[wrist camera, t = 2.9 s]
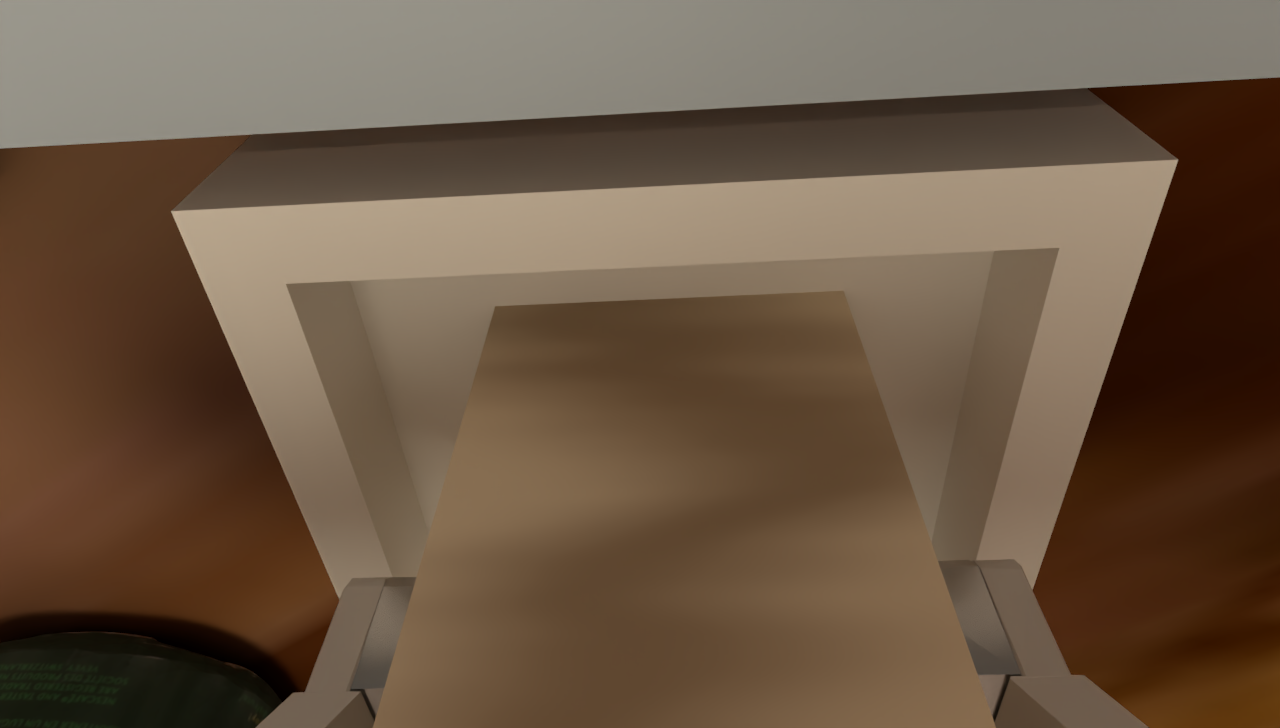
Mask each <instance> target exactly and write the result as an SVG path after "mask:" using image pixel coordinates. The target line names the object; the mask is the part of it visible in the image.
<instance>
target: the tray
mask: <svg viewBox="0 0 1280 728" xmlns="http://www.w3.org/2000/svg"><path fill="white" fill-rule="evenodd" d="M1177 162H1178V159H1177V158H1176V157H1174V156H1173V155H1172V154H1170V153H1169V152H1168V151H1167V150H1165V149H1164V148H1163V147H1161V146H1160V145H1159V144H1158V143H1156V142H1155V141H1154V140H1152V139H1151V138H1150V137H1149V136H1147V135H1146V134H1145V133H1143V132H1142V131H1141V130H1140V129H1138V128H1137V127H1136V126H1134V125H1133V124H1132V123H1131V122H1129V121H1128V120H1127V119H1125V118H1124V117H1123V116H1122V115H1120V114H1119V113H1118V112H1116V111H1115V110H1114V109H1113V108H1111V107H1110V106H1109V105H1107V104H1106V103H1105V102H1104V101H1102V100H1101V99H1100V98H1098V97H1097V96H1096V95H1095V94H1093V93H1092V92H1091V91H1089V90H1088V89H1087V88H1077V89H1059V90H1041V91H1023V92H1005V93H987V94H970V95H952V96H934V97H916V98H898V99H880V100H862V101H844V102H826V103H808V104H790V105H772V106H754V107H736V108H718V109H700V110H682V111H664V112H646V113H629V114H611V115H593V116H575V117H557V118H539V119H521V120H503V121H485V122H467V123H449V124H431V125H413V126H395V127H377V128H359V129H341V130H323V131H305V132H288V133H270V134H252V135H251V136H250V137H249V138H248V139H247V140H246V141H245V142H244V143H243V144H242V145H241V146H240V147H238V148H237V149H236V150H235V151H234V152H233V153H232V154H231V155H230V156H229V157H228V158H227V159H226V160H225V161H224V162H223V163H222V164H220V165H219V166H218V167H217V168H216V169H215V170H214V171H213V172H212V173H211V174H210V175H209V176H208V177H207V178H206V179H205V180H204V181H202V182H201V183H200V184H199V185H198V186H197V187H196V188H195V189H194V190H193V191H192V192H191V193H190V194H189V195H188V196H187V197H186V198H184V199H183V200H182V201H181V202H180V203H179V204H178V205H177V206H176V207H175V208H174V209H173V210H172V211H171V213H172V215H173V217H174V220H175V222H176V224H177V226H178V229H179V231H180V233H181V236H182V238H183V240H184V243H185V245H186V247H187V250H188V252H189V254H190V256H191V259H192V261H193V263H194V266H195V268H196V270H197V273H198V275H199V277H200V279H201V282H202V284H203V286H204V289H205V291H206V293H207V296H208V298H209V300H210V303H211V305H212V307H213V309H214V312H215V314H216V316H217V319H218V321H219V323H220V326H221V328H222V330H223V333H224V335H225V337H226V339H227V342H228V344H229V346H230V349H231V351H232V353H233V356H234V358H235V360H236V362H237V365H238V367H239V369H240V372H241V374H242V376H243V379H244V381H245V383H246V386H247V388H248V390H249V392H250V395H251V397H252V399H253V402H254V404H255V406H256V409H257V411H258V413H259V416H260V418H261V420H262V422H263V425H264V427H265V429H266V432H267V434H268V436H269V439H270V441H271V443H272V446H273V448H274V450H275V452H276V455H277V457H278V459H279V462H280V464H281V466H282V469H283V471H284V473H285V475H286V478H287V480H288V482H289V485H290V487H291V489H292V492H293V494H294V496H295V499H296V501H297V503H298V505H299V508H300V510H301V512H302V515H303V517H304V519H305V522H306V524H307V526H308V529H309V531H310V533H311V535H312V538H313V540H314V542H315V545H316V547H317V549H318V552H319V554H320V556H321V558H322V561H323V563H324V565H325V568H326V570H327V572H328V575H329V577H330V579H331V582H332V584H333V586H334V588H335V591H336V593H337V595H338V598H339V600H340V597H341V594H342V592H343V589H344V588H345V587H346V586H347V584H348V583H349V582H350V581H351V579H352V578H374V577H417V574H418V570H419V567H420V563H421V560H422V556H423V553H424V550H425V546H426V543H427V539H428V536H429V532H430V529H431V525H432V522H433V519H434V515H435V512H436V508H437V505H438V501H439V498H440V495H441V491H442V488H443V484H444V481H445V477H446V474H447V470H448V467H449V464H450V460H451V457H452V453H453V450H454V446H455V443H456V439H457V436H458V433H459V429H460V426H461V422H462V419H463V415H464V412H465V408H466V405H467V402H468V398H469V395H470V391H471V388H472V384H473V381H474V377H475V374H476V371H477V367H478V364H479V360H480V357H481V353H482V350H483V346H484V343H485V340H486V336H487V333H488V329H489V326H490V322H491V319H492V316H493V312H494V309H495V306H514V305H536V304H558V303H581V302H603V301H626V300H648V299H670V298H693V297H715V296H738V295H760V294H782V293H805V292H827V291H844V294H845V297H846V299H847V302H848V305H849V308H850V311H851V314H852V317H853V319H854V322H855V325H856V328H857V331H858V334H859V337H860V339H861V342H862V345H863V348H864V351H865V354H866V357H867V360H868V362H869V365H870V368H871V371H872V374H873V377H874V380H875V382H876V385H877V388H878V391H879V394H880V397H881V400H882V402H883V405H884V408H885V411H886V414H887V417H888V420H889V422H890V425H891V428H892V431H893V434H894V437H895V440H896V443H897V445H898V448H899V451H900V454H901V457H902V460H903V463H904V465H905V468H906V471H907V474H908V477H909V480H910V483H911V485H912V488H913V491H914V494H915V497H916V500H917V503H918V505H919V508H920V511H921V514H922V517H923V520H924V523H925V526H926V528H927V531H928V534H929V537H930V540H931V543H932V546H933V548H934V551H935V554H936V557H937V560H938V561H949V560H970V561H973V560H1002V559H1014V560H1015V561H1016V562H1018V563H1019V564H1020V565H1021V567H1022V569H1023V571H1024V573H1025V575H1026V578H1027V580H1028V582H1029V584H1030V586H1031V588H1032V590H1033V587H1034V584H1035V581H1036V578H1037V576H1038V573H1039V570H1040V567H1041V564H1042V561H1043V558H1044V555H1045V552H1046V549H1047V546H1048V543H1049V540H1050V537H1051V534H1052V531H1053V528H1054V525H1055V522H1056V519H1057V516H1058V513H1059V511H1060V508H1061V505H1062V502H1063V499H1064V496H1065V493H1066V490H1067V487H1068V484H1069V481H1070V478H1071V475H1072V472H1073V469H1074V466H1075V463H1076V460H1077V457H1078V454H1079V451H1080V449H1081V446H1082V443H1083V440H1084V437H1085V434H1086V431H1087V428H1088V425H1089V422H1090V419H1091V416H1092V413H1093V410H1094V407H1095V404H1096V401H1097V398H1098V395H1099V392H1100V389H1101V386H1102V384H1103V381H1104V378H1105V375H1106V372H1107V369H1108V366H1109V363H1110V360H1111V357H1112V354H1113V351H1114V348H1115V345H1116V342H1117V339H1118V336H1119V333H1120V330H1121V327H1122V324H1123V322H1124V319H1125V316H1126V313H1127V310H1128V307H1129V304H1130V301H1131V298H1132V295H1133V292H1134V289H1135V286H1136V283H1137V280H1138V277H1139V274H1140V271H1141V268H1142V265H1143V262H1144V259H1145V257H1146V254H1147V251H1148V248H1149V245H1150V242H1151V239H1152V236H1153V233H1154V230H1155V227H1156V224H1157V221H1158V218H1159V215H1160V212H1161V209H1162V206H1163V203H1164V200H1165V197H1166V195H1167V192H1168V189H1169V186H1170V183H1171V180H1172V177H1173V174H1174V171H1175V168H1176V165H1177Z"/></svg>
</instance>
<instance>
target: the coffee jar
mask: <svg viewBox="0 0 1280 728" xmlns="http://www.w3.org/2000/svg"><path fill="white" fill-rule="evenodd" d="M281 703H282V701H281V700H280V698H279V697H278V696H277V694H276V693H275V692H274V691H273V689H272V688H271V687H270V686H269V685H268V684H267V683H266V682H265V681H264V680H263V679H262V678H260V677H259V676H258V675H257V674H255V673H253V672H252V671H250V670H248V669H247V668H244V667H242V666H239V665H236V664H232V663H228V662H224V661H220V660H217V659H214V658H211V657H208V656H205V655H201V654H198V653H194V652H191V651H188V650H186V649H183V648H179V647H174V646H171V645H167V644H164V643H160V642H158V641H157V640H156V639H154V638H152V637H147V636H141V635H136V634H125V633H113V632H68V633H53V634H44V635H39V636H35V637H31V638H26V639H20V640H13V641H7V642H2V643H0V728H255V727H257V726H258V725H259V724H260V723H261V722H262V721H263V720H264V719H265V718H266V717H267V716H268V715H269V714H271V713H272V712H273V711H274V710H275V709H276V708H277V707H278V706H279V705H280V704H281Z"/></svg>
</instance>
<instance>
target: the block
mask: <svg viewBox="0 0 1280 728" xmlns="http://www.w3.org/2000/svg"><path fill="white" fill-rule="evenodd" d="M373 728H996V726H995V723H994V720H993V717H992V714H991V712H990V709H989V706H988V703H987V700H986V697H985V694H984V692H983V689H982V686H981V683H980V680H979V677H978V674H977V672H976V669H975V666H974V663H973V660H972V657H971V654H970V651H969V649H968V646H967V643H966V640H965V637H964V634H963V631H962V629H961V626H960V623H959V620H958V617H957V614H956V611H955V609H954V606H953V603H952V600H951V597H950V594H949V591H948V589H947V586H946V583H945V580H944V577H943V574H942V571H941V568H940V566H939V563H938V560H937V557H936V554H935V551H934V548H933V546H932V543H931V540H930V537H929V534H928V531H927V528H926V526H925V523H924V520H923V517H922V514H921V511H920V508H919V505H918V503H917V500H916V497H915V494H914V491H913V488H912V485H911V483H910V480H909V477H908V474H907V471H906V468H905V465H904V463H903V460H902V457H901V454H900V451H899V448H898V445H897V443H896V440H895V437H894V434H893V431H892V428H891V425H890V422H889V420H888V417H887V414H886V411H885V408H884V405H883V402H882V400H881V397H880V394H879V391H878V388H877V385H876V382H875V380H874V377H873V374H872V371H871V368H870V365H869V362H868V360H867V357H866V354H865V351H864V348H863V345H862V342H861V339H860V337H859V334H858V331H857V328H856V325H855V322H854V319H853V317H852V314H851V311H850V308H849V305H848V302H847V299H846V297H845V294H844V291H827V292H805V293H782V294H760V295H738V296H715V297H693V298H670V299H648V300H626V301H603V302H581V303H558V304H536V305H514V306H495V309H494V312H493V316H492V319H491V322H490V326H489V329H488V333H487V336H486V340H485V343H484V346H483V350H482V353H481V357H480V360H479V364H478V367H477V371H476V374H475V377H474V381H473V384H472V388H471V391H470V395H469V398H468V402H467V405H466V408H465V412H464V415H463V419H462V422H461V426H460V429H459V433H458V436H457V439H456V443H455V446H454V450H453V453H452V457H451V460H450V464H449V467H448V470H447V474H446V477H445V481H444V484H443V488H442V491H441V495H440V498H439V501H438V505H437V508H436V512H435V515H434V519H433V522H432V525H431V529H430V532H429V536H428V539H427V543H426V546H425V550H424V553H423V556H422V560H421V563H420V567H419V570H418V574H417V577H416V581H415V584H414V587H413V591H412V594H411V598H410V601H409V605H408V608H407V612H406V615H405V618H404V622H403V625H402V629H401V632H400V636H399V639H398V643H397V646H396V649H395V653H394V656H393V660H392V663H391V667H390V670H389V673H388V677H387V680H386V684H385V687H384V691H383V694H382V698H381V701H380V704H379V708H378V711H377V715H376V718H375V722H374V725H373Z"/></svg>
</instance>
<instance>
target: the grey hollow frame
mask: <svg viewBox="0 0 1280 728" xmlns="http://www.w3.org/2000/svg"><path fill="white" fill-rule="evenodd" d="M1275 77H1280V0H0V148H18V147H36V146H54V145H72V144H90V143H108V142H126V141H144V140H162V139H180V138H198V137H216V136H234V135H252V134H270V133H288V132H305V131H323V130H341V129H359V128H377V127H395V126H413V125H431V124H449V123H467V122H485V121H503V120H521V119H539V118H557V117H575V116H593V115H611V114H629V113H646V112H664V111H682V110H700V109H718V108H736V107H754V106H772V105H790V104H808V103H826V102H844V101H862V100H880V99H898V98H916V97H934V96H952V95H970V94H987V93H1005V92H1023V91H1041V90H1059V89H1077V88H1095V87H1113V86H1131V85H1149V84H1167V83H1185V82H1203V81H1221V80H1239V79H1257V78H1275Z"/></svg>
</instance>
